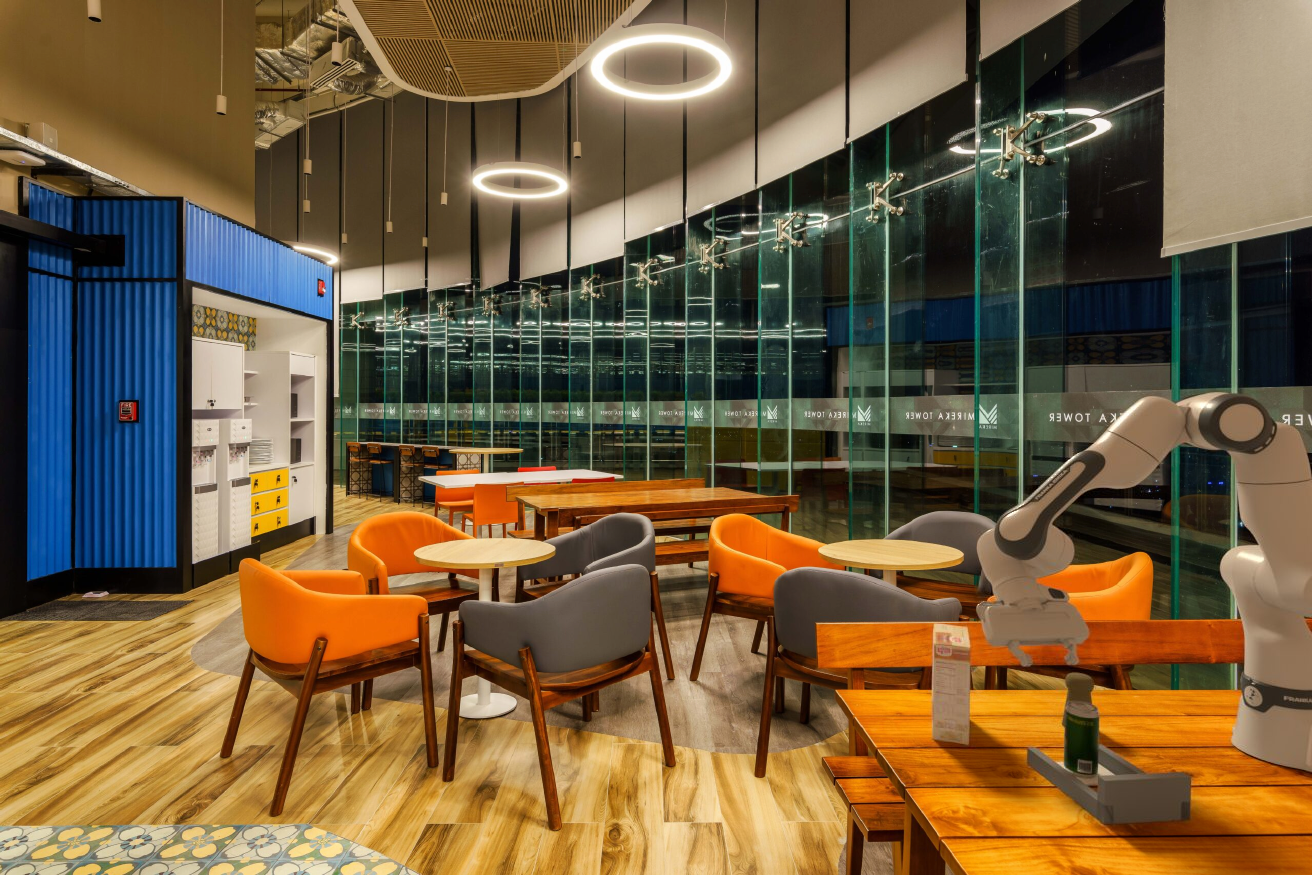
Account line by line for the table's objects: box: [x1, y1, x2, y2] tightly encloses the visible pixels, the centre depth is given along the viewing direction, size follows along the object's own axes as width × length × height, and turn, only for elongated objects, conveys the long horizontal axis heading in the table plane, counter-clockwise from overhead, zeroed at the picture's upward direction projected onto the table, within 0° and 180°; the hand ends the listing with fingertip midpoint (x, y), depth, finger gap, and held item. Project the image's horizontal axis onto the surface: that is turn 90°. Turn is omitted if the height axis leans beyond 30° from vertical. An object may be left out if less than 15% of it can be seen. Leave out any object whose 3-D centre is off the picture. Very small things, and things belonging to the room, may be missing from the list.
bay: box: [1026, 743, 1192, 825], centre depth 125 cm, size 15×20×7 cm
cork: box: [1061, 672, 1095, 728], centre depth 150 cm, size 6×6×11 cm
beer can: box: [1063, 701, 1101, 778], centre depth 130 cm, size 5×5×12 cm
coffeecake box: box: [931, 623, 972, 746], centre depth 149 cm, size 15×7×20 cm, turn 159°
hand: (1051, 664), depth 139 cm, fingers open, 8 cm apart
